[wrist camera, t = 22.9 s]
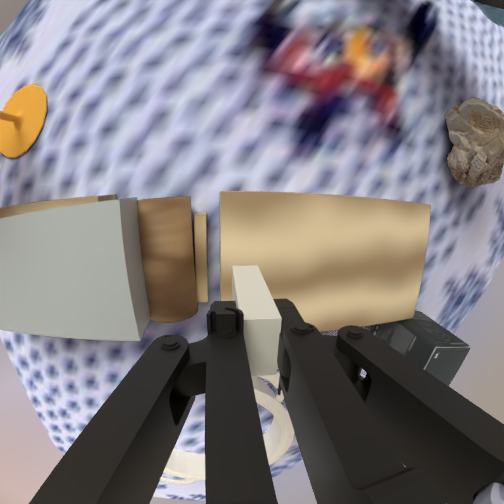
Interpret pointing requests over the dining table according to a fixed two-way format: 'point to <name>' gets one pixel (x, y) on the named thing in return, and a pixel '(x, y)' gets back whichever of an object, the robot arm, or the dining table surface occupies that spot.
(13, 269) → the slab
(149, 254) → the roller
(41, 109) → the cup
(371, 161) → the dining table surface
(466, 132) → the rock
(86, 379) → the dining table surface
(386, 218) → the track
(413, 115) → the dining table surface
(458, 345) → the box
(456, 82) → the dining table surface
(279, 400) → the cream oval ring
